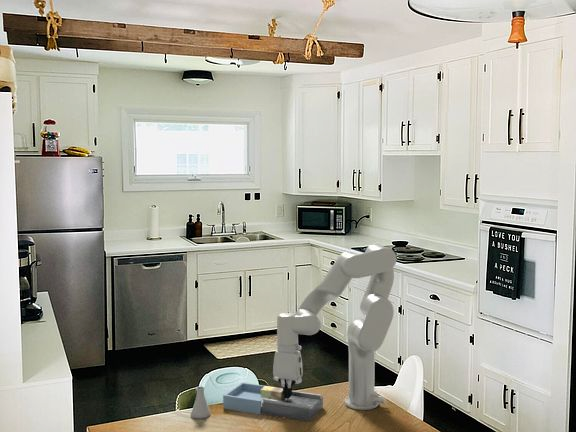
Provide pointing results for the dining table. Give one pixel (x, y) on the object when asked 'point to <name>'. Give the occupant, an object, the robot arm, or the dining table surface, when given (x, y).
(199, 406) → the flask
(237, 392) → the tray
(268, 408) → the slot block
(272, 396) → the beige square block
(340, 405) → the dining table surface
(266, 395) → the olive yellow block
